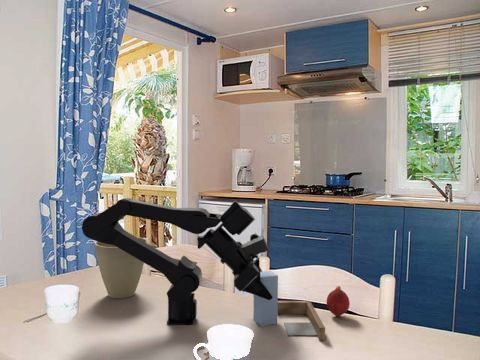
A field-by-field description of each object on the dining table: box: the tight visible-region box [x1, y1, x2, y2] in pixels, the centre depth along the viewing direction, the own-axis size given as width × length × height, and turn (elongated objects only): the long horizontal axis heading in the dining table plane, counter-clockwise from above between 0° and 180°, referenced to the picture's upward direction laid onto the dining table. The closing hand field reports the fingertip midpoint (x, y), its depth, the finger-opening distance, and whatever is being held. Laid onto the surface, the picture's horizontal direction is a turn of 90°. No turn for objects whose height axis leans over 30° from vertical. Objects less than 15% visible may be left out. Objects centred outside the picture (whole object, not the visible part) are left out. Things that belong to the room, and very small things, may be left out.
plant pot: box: [94, 236, 148, 299], centre depth 119 cm, size 15×15×16 cm
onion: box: [326, 285, 351, 318], centre depth 104 cm, size 6×6×8 cm
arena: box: [278, 300, 326, 342], centre depth 98 cm, size 9×17×3 cm, turn 1°
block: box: [252, 270, 279, 327], centre depth 100 cm, size 4×4×12 cm
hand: (270, 292), depth 100 cm, fingers open, 9 cm apart
